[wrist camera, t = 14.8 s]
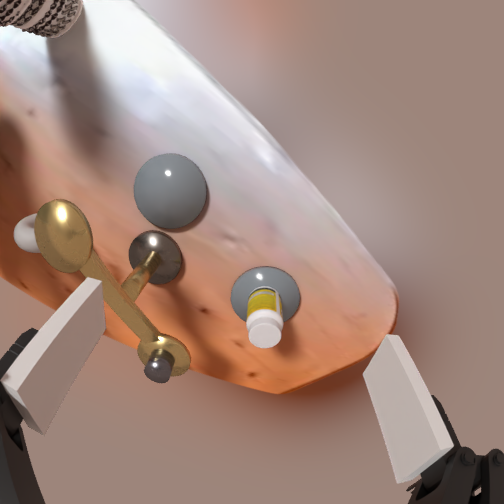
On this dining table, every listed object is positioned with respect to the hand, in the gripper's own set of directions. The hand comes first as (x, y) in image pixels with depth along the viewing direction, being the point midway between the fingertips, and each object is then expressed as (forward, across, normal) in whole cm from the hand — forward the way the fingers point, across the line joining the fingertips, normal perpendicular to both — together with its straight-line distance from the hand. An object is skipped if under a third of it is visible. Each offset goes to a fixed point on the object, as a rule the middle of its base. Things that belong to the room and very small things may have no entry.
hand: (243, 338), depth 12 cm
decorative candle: (+28, -36, +25) cm, 52 cm away
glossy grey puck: (+27, -11, -1) cm, 29 cm away
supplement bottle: (+26, +5, -14) cm, 30 cm away
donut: (+28, -30, -9) cm, 41 cm away
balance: (+27, -12, -11) cm, 32 cm away
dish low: (+27, +5, -14) cm, 30 cm away
